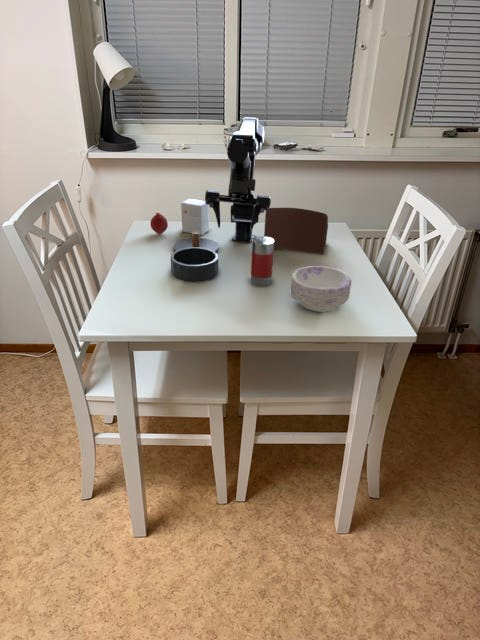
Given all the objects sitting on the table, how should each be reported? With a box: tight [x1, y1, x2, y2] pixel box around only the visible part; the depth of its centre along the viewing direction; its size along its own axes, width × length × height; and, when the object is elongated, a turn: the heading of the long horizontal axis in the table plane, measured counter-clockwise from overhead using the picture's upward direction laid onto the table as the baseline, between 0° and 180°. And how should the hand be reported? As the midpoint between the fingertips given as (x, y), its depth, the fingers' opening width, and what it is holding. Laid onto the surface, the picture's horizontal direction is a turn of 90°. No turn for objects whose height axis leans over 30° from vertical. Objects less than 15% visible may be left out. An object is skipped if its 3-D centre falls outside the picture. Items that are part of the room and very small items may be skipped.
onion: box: [149, 211, 169, 235], centre depth 167 cm, size 6×6×8 cm
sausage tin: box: [250, 236, 275, 287], centre depth 136 cm, size 6×6×12 cm
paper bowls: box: [290, 265, 352, 313], centre depth 127 cm, size 15×15×8 cm
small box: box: [180, 198, 210, 236], centre depth 170 cm, size 8×6×10 cm
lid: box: [173, 232, 220, 253], centre depth 157 cm, size 15×15×6 cm
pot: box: [170, 247, 219, 283], centre depth 142 cm, size 14×14×5 cm
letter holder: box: [263, 207, 329, 255], centre depth 160 cm, size 10×20×14 cm, turn 76°
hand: (235, 229), depth 141 cm, fingers open, 9 cm apart
